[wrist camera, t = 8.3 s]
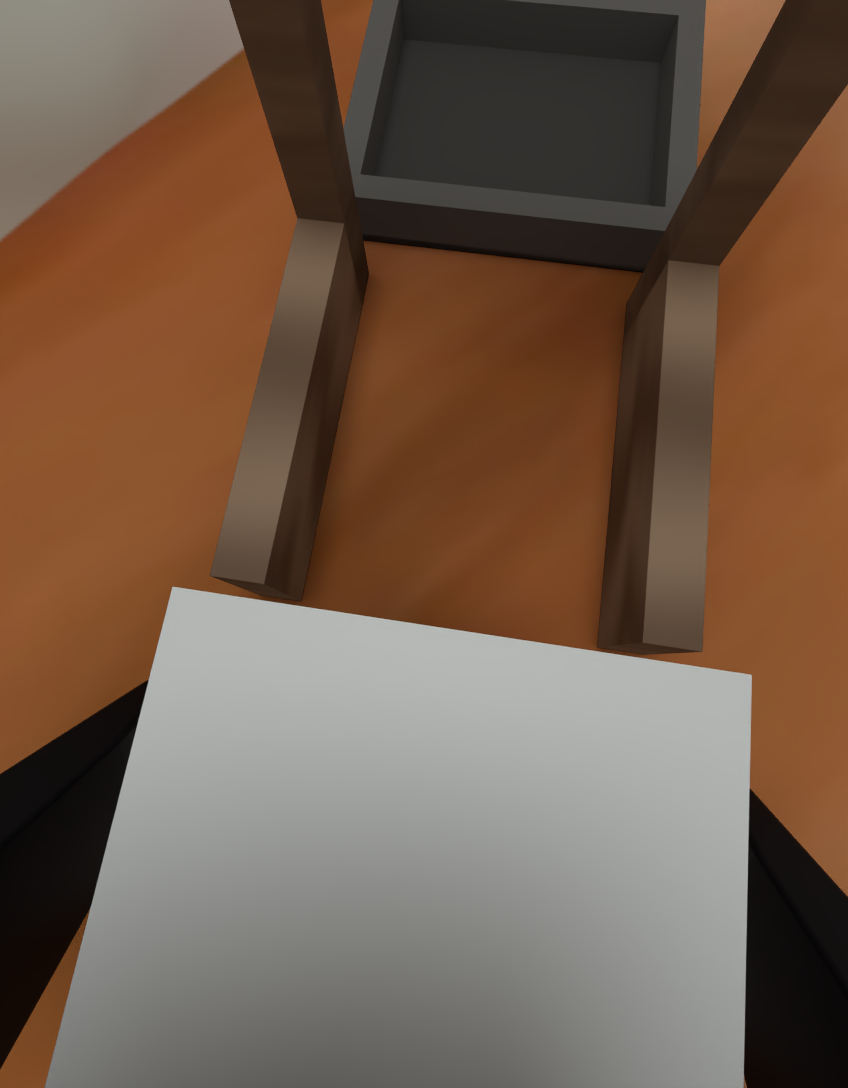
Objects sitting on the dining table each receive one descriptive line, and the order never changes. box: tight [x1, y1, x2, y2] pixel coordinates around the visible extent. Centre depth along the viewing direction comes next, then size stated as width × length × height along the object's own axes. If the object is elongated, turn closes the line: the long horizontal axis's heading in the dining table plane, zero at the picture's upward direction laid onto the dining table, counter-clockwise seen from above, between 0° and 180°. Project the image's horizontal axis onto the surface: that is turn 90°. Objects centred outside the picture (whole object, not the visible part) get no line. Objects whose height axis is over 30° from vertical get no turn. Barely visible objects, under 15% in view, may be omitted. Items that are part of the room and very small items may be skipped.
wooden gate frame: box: [210, 0, 848, 655], centre depth 12 cm, size 13×13×15 cm
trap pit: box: [343, 0, 706, 272], centre depth 21 cm, size 11×13×2 cm
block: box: [45, 587, 752, 1088], centre depth 11 cm, size 6×6×12 cm
